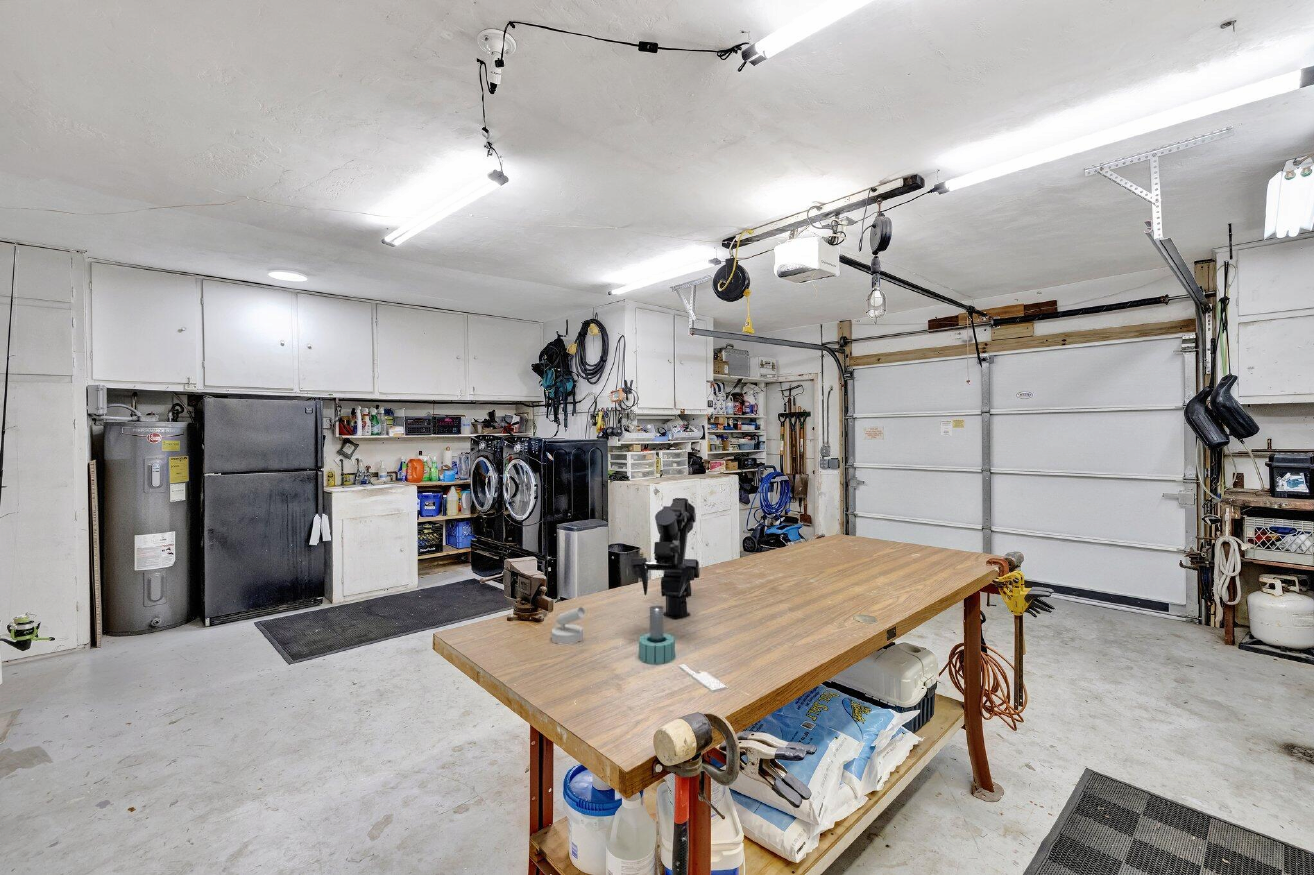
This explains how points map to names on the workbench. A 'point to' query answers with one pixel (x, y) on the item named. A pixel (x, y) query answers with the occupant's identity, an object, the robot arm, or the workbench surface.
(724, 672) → the workbench surface
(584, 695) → the workbench surface
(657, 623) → the shiny metal cylinder
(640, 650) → the teal notched ring
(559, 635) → the wall hook
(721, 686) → the butcher knife
